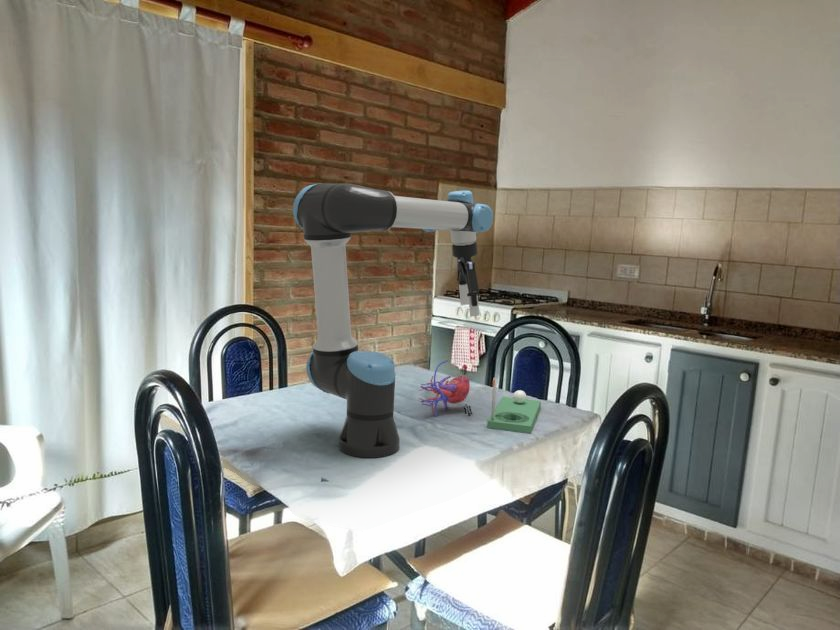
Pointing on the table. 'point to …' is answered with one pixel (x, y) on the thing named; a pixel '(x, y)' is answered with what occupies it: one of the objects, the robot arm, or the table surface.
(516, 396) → the ball
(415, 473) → the table surface
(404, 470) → the table surface
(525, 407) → the green
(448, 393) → the heart model
